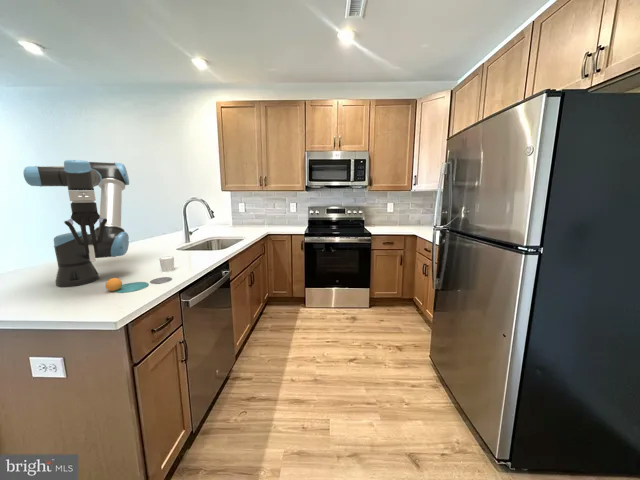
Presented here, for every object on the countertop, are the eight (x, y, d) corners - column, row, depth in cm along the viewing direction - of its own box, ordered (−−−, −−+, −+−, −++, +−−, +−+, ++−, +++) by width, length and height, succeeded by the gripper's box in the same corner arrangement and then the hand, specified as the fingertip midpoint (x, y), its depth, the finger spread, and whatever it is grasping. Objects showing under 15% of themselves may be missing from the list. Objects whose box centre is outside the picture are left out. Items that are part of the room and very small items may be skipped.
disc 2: (145, 283, 123) (145, 282, 123) (160, 277, 132) (160, 276, 132) (162, 284, 122) (161, 284, 122) (176, 278, 130) (176, 277, 130)
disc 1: (105, 291, 113) (104, 291, 113) (131, 281, 126) (131, 281, 125) (130, 293, 110) (130, 293, 110) (155, 283, 123) (155, 282, 123)
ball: (105, 276, 112) (120, 275, 117) (103, 287, 114) (119, 286, 118) (108, 282, 109) (124, 281, 114) (106, 294, 110) (122, 292, 115)
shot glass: (164, 268, 146) (163, 256, 145) (177, 268, 147) (176, 256, 146) (158, 272, 140) (156, 259, 138) (171, 272, 140) (170, 259, 139)
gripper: (61, 202, 95) (72, 266, 100) (106, 201, 105) (115, 259, 109) (58, 202, 100) (69, 262, 105) (102, 201, 110) (110, 256, 114)
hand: (92, 260), depth 107 cm, fingers closed
